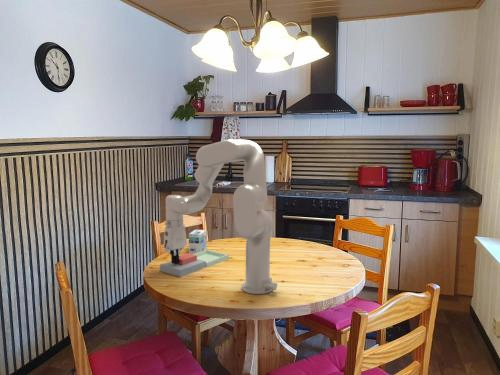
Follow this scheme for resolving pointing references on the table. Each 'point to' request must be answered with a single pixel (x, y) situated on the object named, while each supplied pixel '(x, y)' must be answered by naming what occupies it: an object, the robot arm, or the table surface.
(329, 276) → the table surface
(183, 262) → the salmon red thick block
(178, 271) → the grey flat slab
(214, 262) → the tray
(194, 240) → the light bulb box
